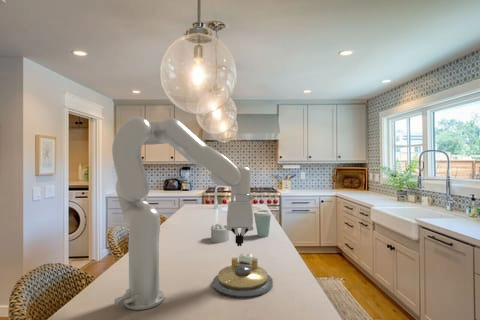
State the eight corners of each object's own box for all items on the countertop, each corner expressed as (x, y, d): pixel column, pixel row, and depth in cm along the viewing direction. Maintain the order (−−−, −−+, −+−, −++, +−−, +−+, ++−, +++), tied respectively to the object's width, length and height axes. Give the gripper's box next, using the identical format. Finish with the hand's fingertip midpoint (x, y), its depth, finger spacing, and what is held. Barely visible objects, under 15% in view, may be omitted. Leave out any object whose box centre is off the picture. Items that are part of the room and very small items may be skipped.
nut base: (250, 304, 93) (250, 294, 93) (200, 287, 106) (200, 278, 106) (283, 281, 110) (283, 272, 110) (236, 268, 123) (236, 261, 123)
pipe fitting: (247, 260, 136) (238, 263, 131) (248, 251, 136) (238, 254, 131) (261, 264, 131) (252, 267, 126) (261, 255, 131) (252, 257, 126)
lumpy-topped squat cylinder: (229, 236, 177) (229, 222, 177) (228, 242, 164) (228, 227, 164) (212, 237, 176) (211, 222, 176) (210, 243, 163) (210, 227, 163)
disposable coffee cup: (272, 237, 173) (271, 212, 173) (254, 238, 173) (253, 212, 173) (270, 233, 183) (270, 209, 183) (253, 233, 183) (253, 209, 184)
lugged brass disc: (266, 291, 98) (265, 275, 98) (213, 289, 100) (213, 273, 100) (268, 271, 116) (267, 257, 116) (223, 269, 118) (223, 256, 118)
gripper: (258, 197, 119) (257, 242, 118) (221, 197, 118) (220, 242, 117) (260, 199, 111) (259, 248, 111) (221, 199, 110) (220, 247, 110)
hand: (239, 245), depth 114 cm, fingers closed
